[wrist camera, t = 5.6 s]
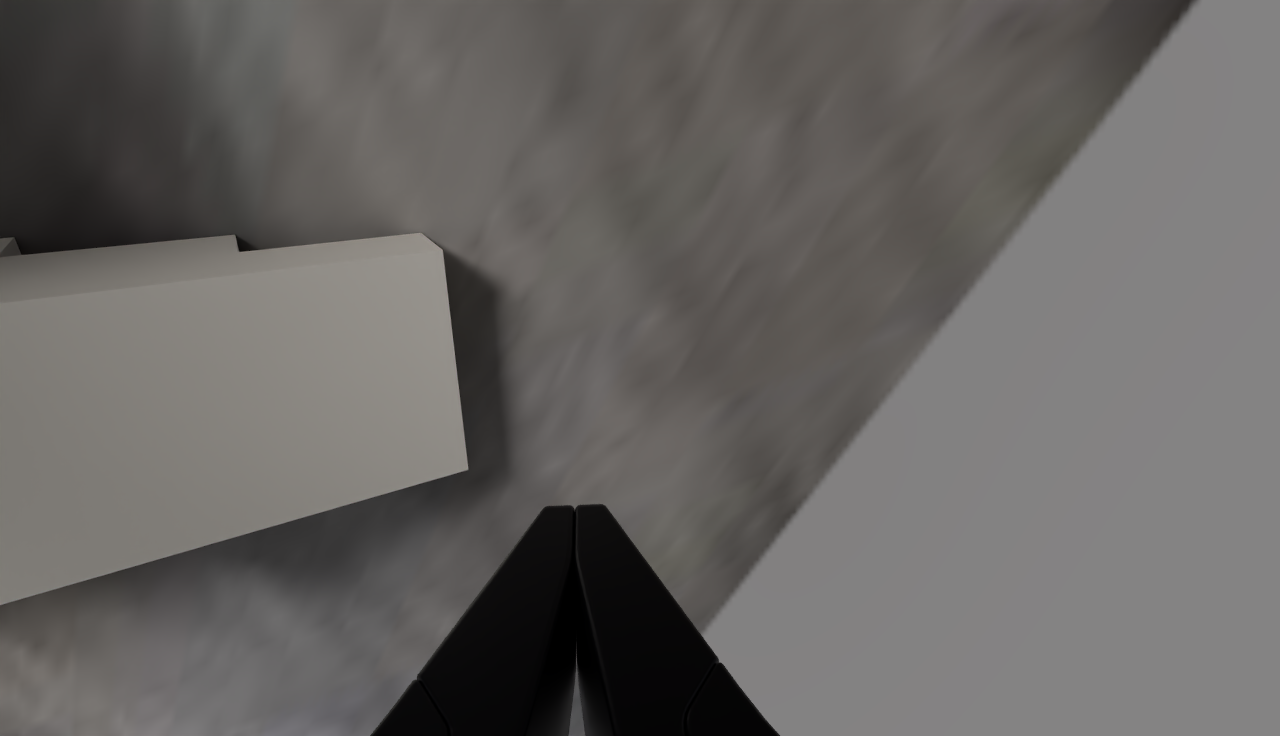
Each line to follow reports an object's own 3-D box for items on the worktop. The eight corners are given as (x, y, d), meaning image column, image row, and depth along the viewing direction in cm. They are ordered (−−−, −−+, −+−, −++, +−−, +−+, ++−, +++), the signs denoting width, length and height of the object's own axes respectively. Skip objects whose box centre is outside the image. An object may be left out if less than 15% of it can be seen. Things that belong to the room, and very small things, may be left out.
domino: (447, 437, 16) (-142, 590, 11) (420, 232, 14) (-325, 311, 9) (468, 469, 14) (-187, 659, 10) (443, 250, 12) (-414, 353, 8)
